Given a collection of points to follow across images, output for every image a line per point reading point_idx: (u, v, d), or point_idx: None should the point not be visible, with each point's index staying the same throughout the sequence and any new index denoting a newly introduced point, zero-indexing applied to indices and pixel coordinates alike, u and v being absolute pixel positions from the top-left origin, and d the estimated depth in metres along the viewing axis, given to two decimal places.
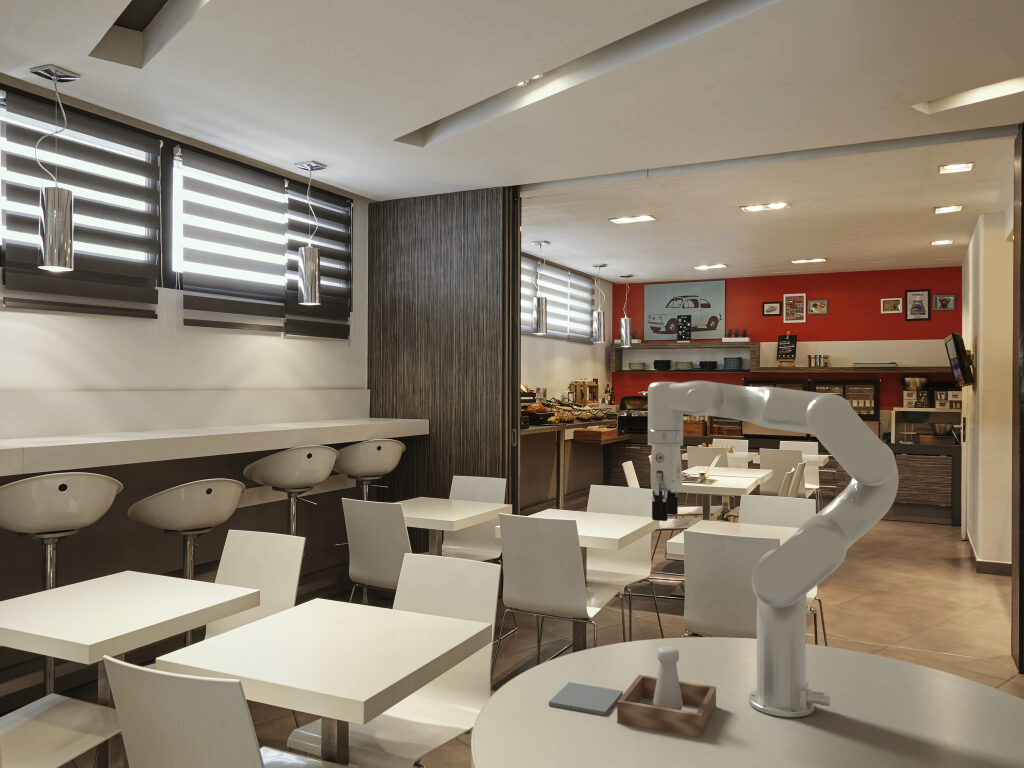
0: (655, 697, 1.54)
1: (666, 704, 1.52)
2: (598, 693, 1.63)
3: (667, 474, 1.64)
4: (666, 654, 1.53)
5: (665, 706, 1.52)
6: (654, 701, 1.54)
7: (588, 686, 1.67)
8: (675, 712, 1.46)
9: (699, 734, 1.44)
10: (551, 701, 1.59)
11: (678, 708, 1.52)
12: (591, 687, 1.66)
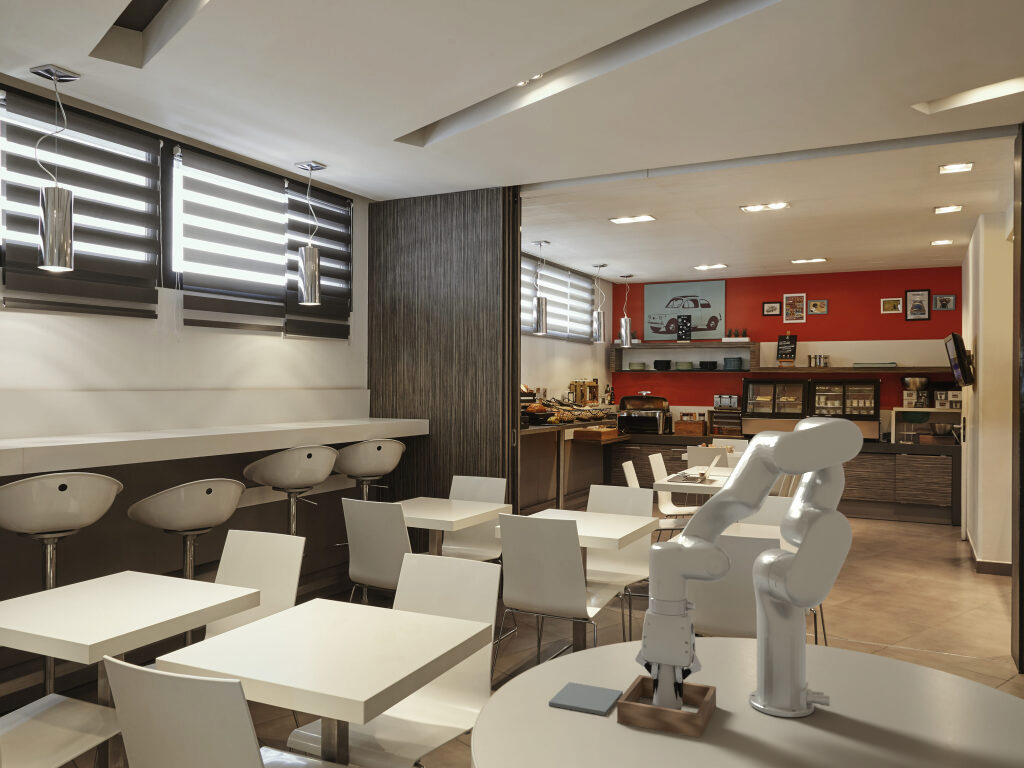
0: (655, 697, 1.54)
1: (666, 704, 1.52)
2: (598, 693, 1.63)
3: None
4: None
5: (665, 706, 1.52)
6: (654, 701, 1.54)
7: (588, 686, 1.67)
8: (675, 712, 1.46)
9: (699, 734, 1.44)
10: (551, 701, 1.59)
11: (678, 708, 1.52)
12: (591, 687, 1.66)
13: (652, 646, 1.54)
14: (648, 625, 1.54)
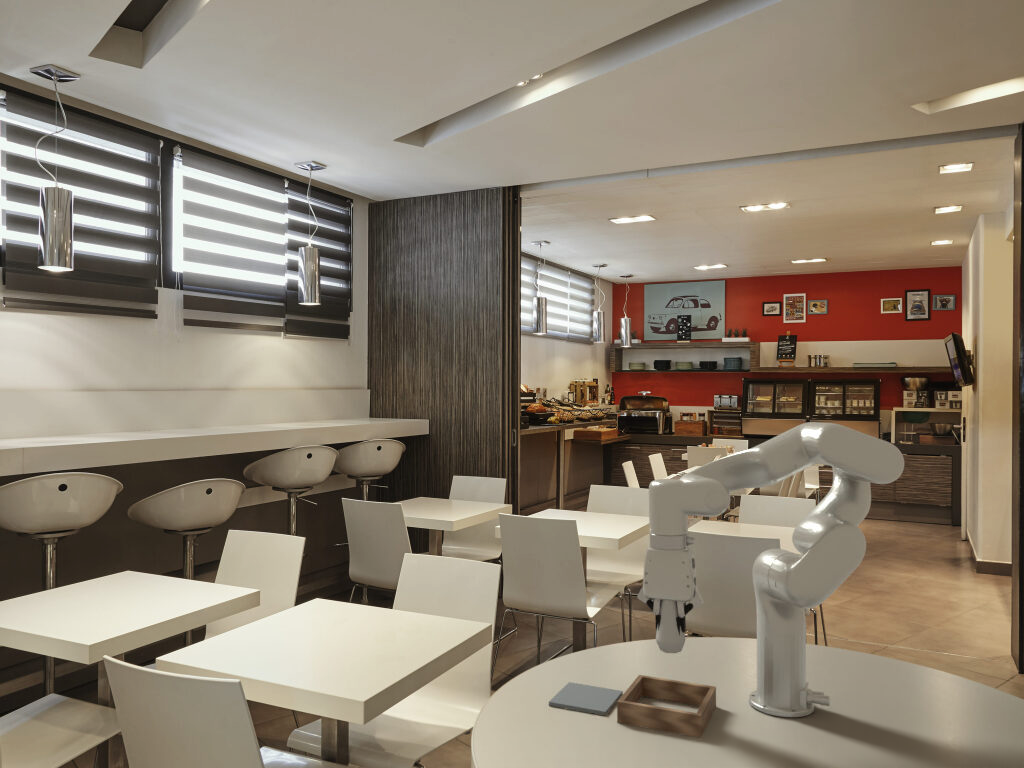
0: (657, 633, 1.54)
1: (669, 639, 1.52)
2: (598, 693, 1.63)
3: (696, 578, 1.54)
4: None
5: (668, 641, 1.52)
6: (657, 637, 1.54)
7: (588, 686, 1.67)
8: (675, 712, 1.46)
9: (699, 734, 1.44)
10: (551, 701, 1.59)
11: (681, 643, 1.53)
12: (591, 687, 1.66)
13: (654, 582, 1.54)
14: (649, 561, 1.54)
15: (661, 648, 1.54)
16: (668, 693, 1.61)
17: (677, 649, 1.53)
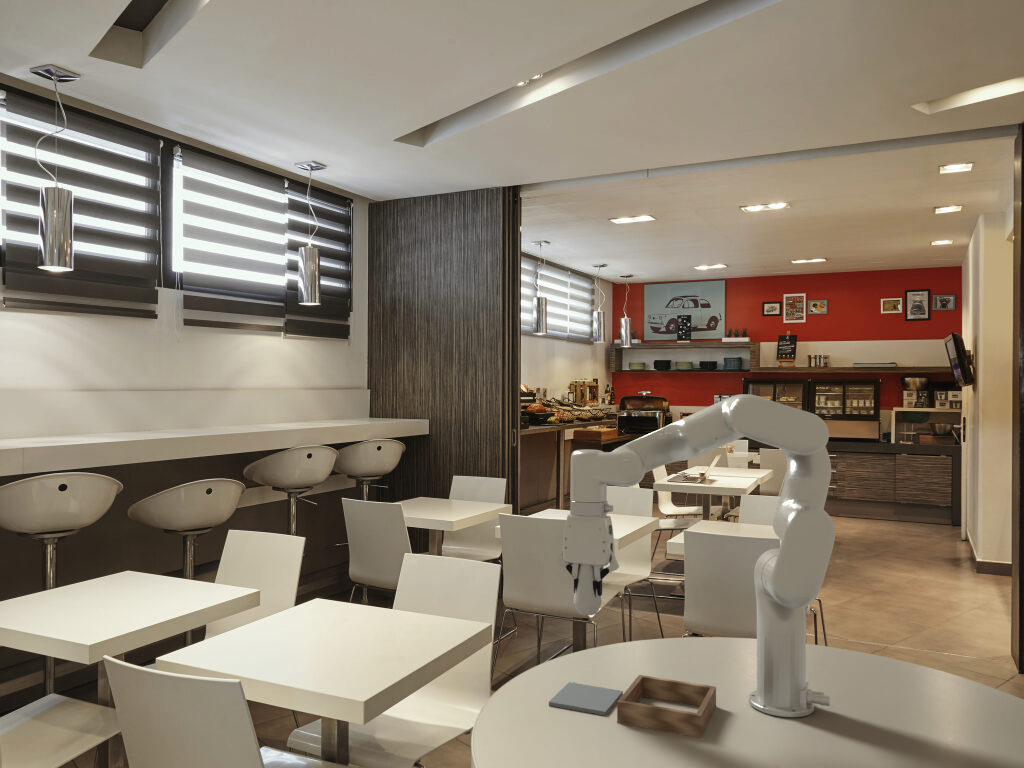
0: (575, 596, 1.61)
1: (584, 601, 1.59)
2: (598, 693, 1.63)
3: (613, 545, 1.61)
4: None
5: (583, 603, 1.59)
6: (574, 600, 1.61)
7: (588, 686, 1.67)
8: (675, 712, 1.46)
9: (699, 734, 1.44)
10: (551, 701, 1.59)
11: (596, 605, 1.59)
12: (591, 687, 1.66)
13: (572, 547, 1.61)
14: (569, 527, 1.61)
15: (578, 610, 1.61)
16: (668, 693, 1.61)
17: (593, 611, 1.60)
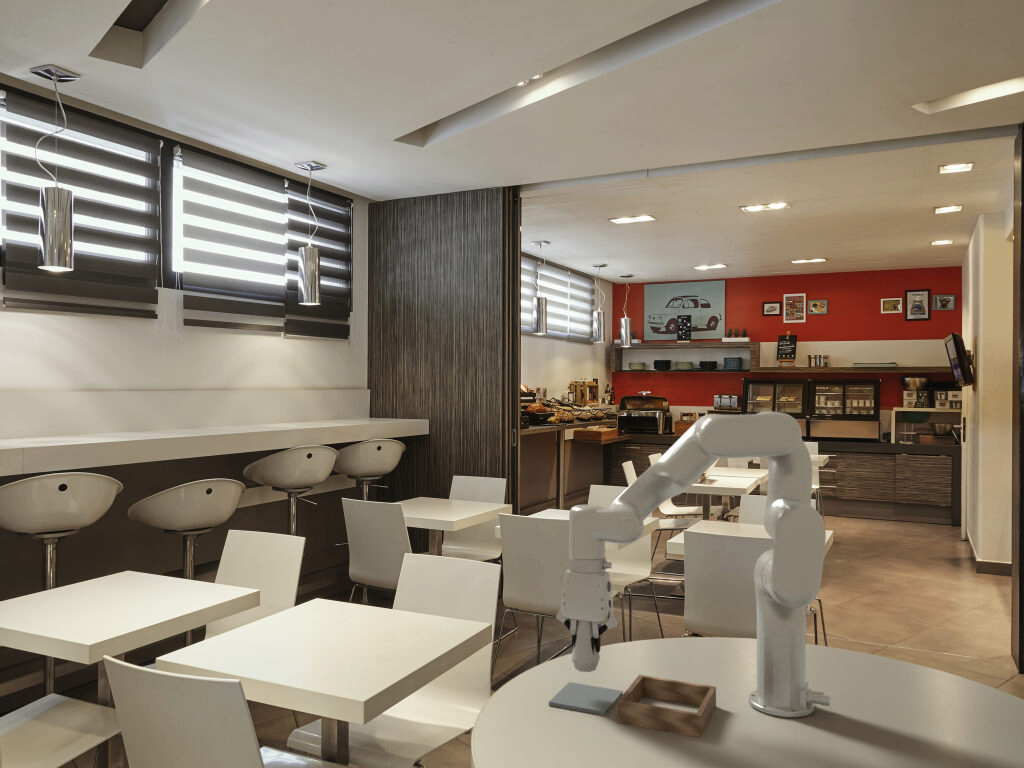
0: (573, 652, 1.61)
1: (582, 658, 1.59)
2: (598, 693, 1.63)
3: (612, 601, 1.61)
4: None
5: (581, 660, 1.59)
6: (572, 656, 1.61)
7: (588, 686, 1.67)
8: (675, 712, 1.46)
9: (699, 734, 1.44)
10: (551, 701, 1.59)
11: (594, 662, 1.59)
12: (591, 687, 1.66)
13: (571, 603, 1.61)
14: (567, 583, 1.61)
15: (576, 666, 1.61)
16: (668, 693, 1.61)
17: (591, 668, 1.59)
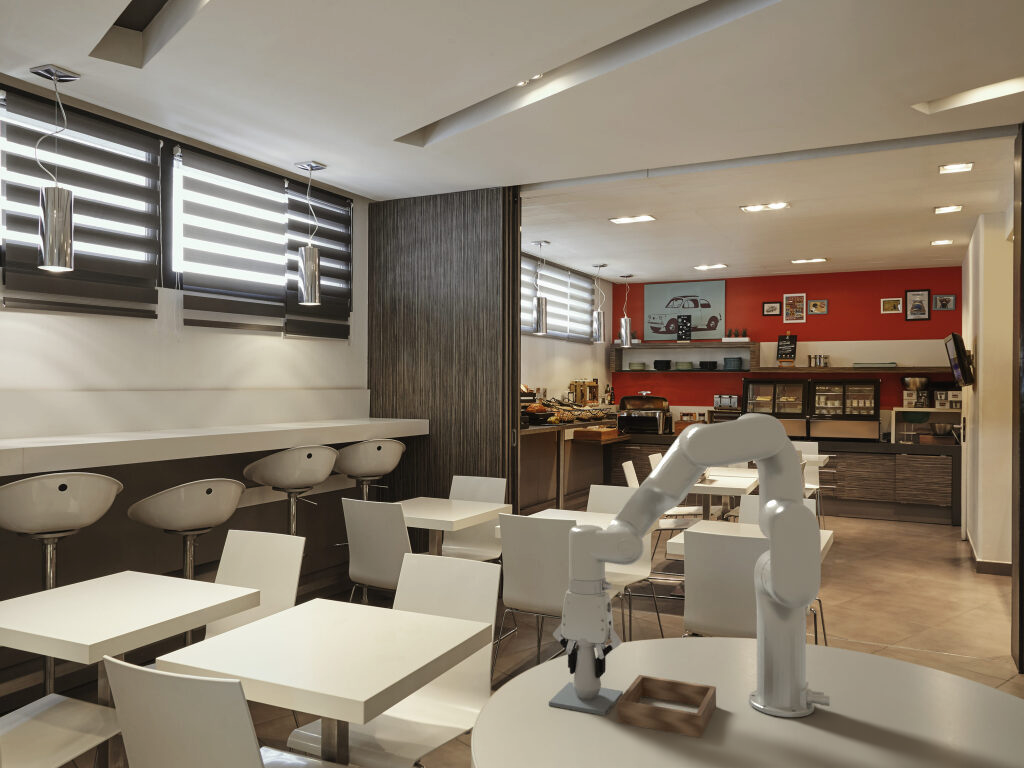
0: (574, 680, 1.61)
1: (584, 686, 1.59)
2: (598, 693, 1.63)
3: (612, 622, 1.61)
4: (583, 639, 1.60)
5: (583, 688, 1.59)
6: (573, 684, 1.61)
7: None
8: (675, 712, 1.46)
9: (699, 734, 1.44)
10: (551, 701, 1.59)
11: (595, 690, 1.59)
12: None
13: (571, 624, 1.61)
14: (567, 604, 1.61)
15: (577, 694, 1.61)
16: (668, 693, 1.61)
17: (592, 696, 1.59)
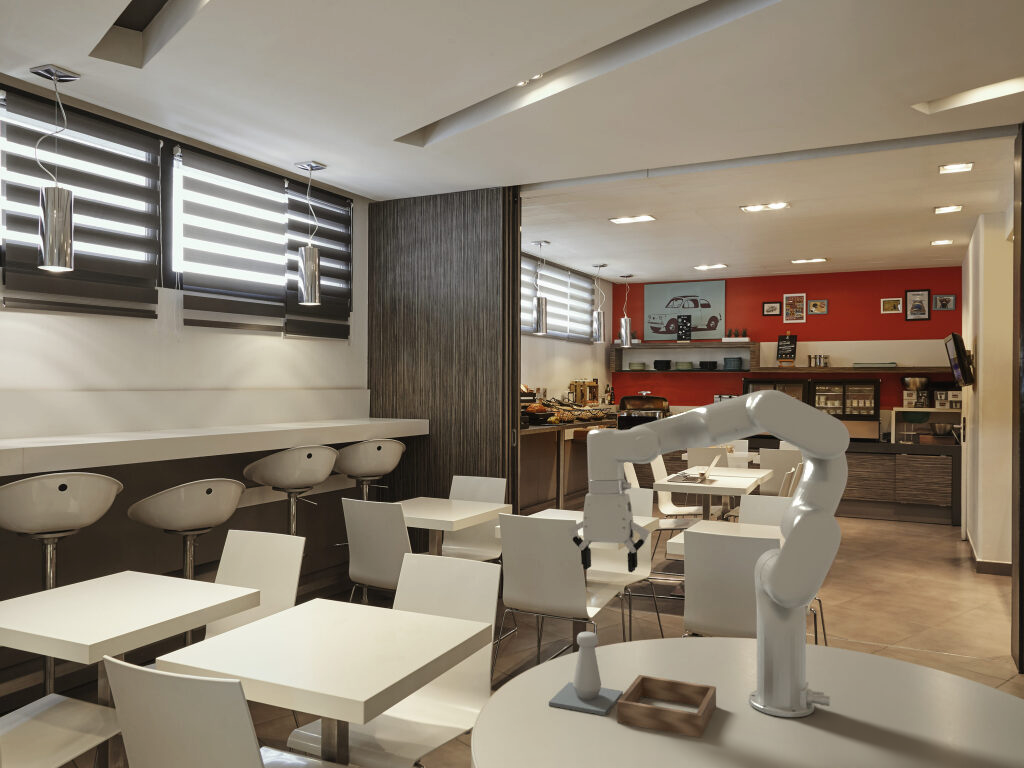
0: (574, 680, 1.61)
1: (584, 686, 1.59)
2: None
3: (633, 522, 1.63)
4: (584, 639, 1.60)
5: (583, 688, 1.59)
6: (574, 683, 1.61)
7: None
8: (675, 712, 1.46)
9: (699, 734, 1.44)
10: (551, 701, 1.59)
11: (596, 690, 1.59)
12: None
13: (592, 525, 1.62)
14: (588, 506, 1.63)
15: (577, 694, 1.61)
16: (668, 693, 1.61)
17: (592, 696, 1.59)
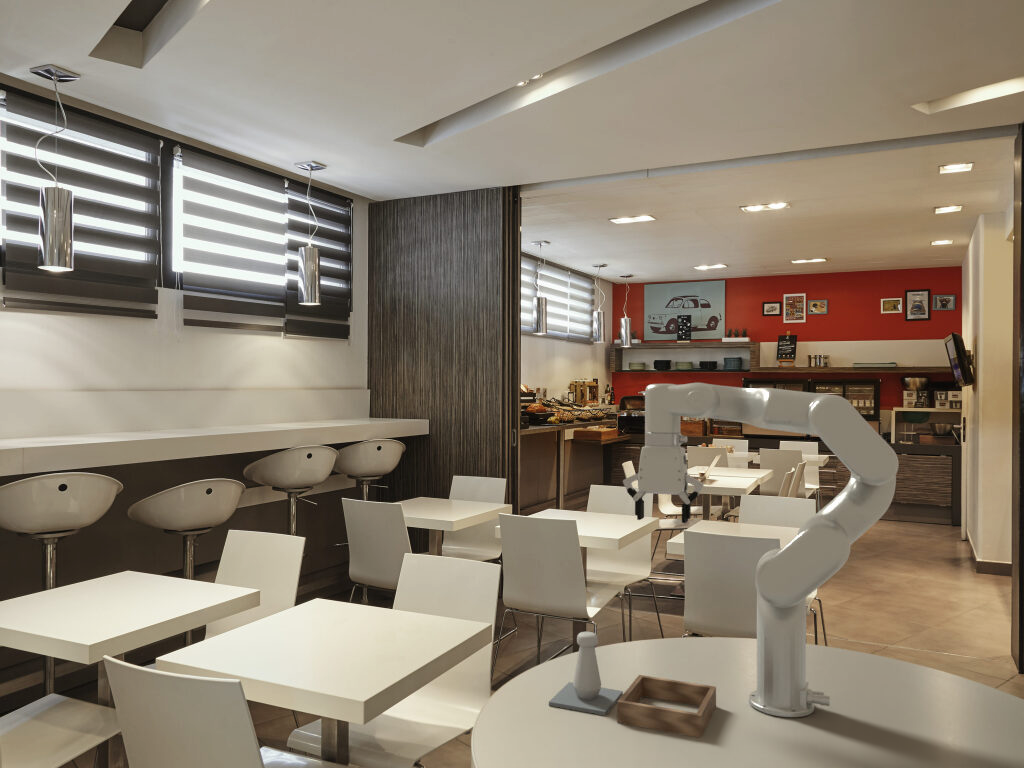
0: (574, 680, 1.61)
1: (584, 686, 1.59)
2: None
3: (687, 475, 1.67)
4: (584, 639, 1.60)
5: (583, 688, 1.59)
6: (574, 683, 1.61)
7: None
8: (675, 712, 1.46)
9: (699, 734, 1.44)
10: (551, 701, 1.59)
11: (596, 690, 1.59)
12: None
13: (648, 477, 1.67)
14: (644, 458, 1.67)
15: (577, 694, 1.61)
16: (668, 693, 1.61)
17: (592, 696, 1.59)
